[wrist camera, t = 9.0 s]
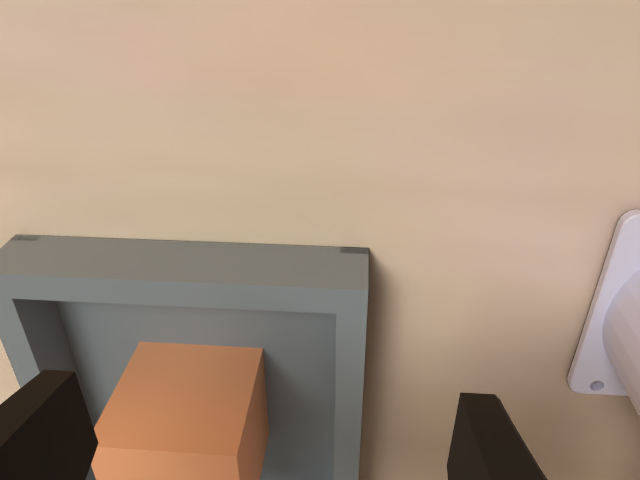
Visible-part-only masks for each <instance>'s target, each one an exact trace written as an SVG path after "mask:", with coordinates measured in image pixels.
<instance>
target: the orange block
mask: <svg viewBox="0 0 640 480" xmlns="http://www.w3.org/2000/svg"><path fill="white" fill-rule="evenodd" d="M94 430H95V434H96V437H97V440H98V446H97V449H96V452H95V455H94V457H93V460H92V463H91V467H92V470H93V472H94V475H95V478H96V480H260V478H261V472H262V467H263V462H264V457H265V452H266V446H267V441H268V436H269V424H268V410H267V397H266V383H265V370H264V357H263V348H252V347H233V346H215V345H196V344H177V343H159V342H139V344H138V346H137V348H136V350H135V352H134V353H133V355H132V357H131V359H130V361H129V363H128V365H127V367H126V369H125V370H124V372H123V374H122V376H121V378H120V380H119V382H118V384H117V386H116V387H115V389H114V391H113V393H112V395H111V397H110V399H109V401H108V403H107V404H106V406H105V408H104V410H103V412H102V414H101V416H100V418H99V420H98V421H97V423H96V425H95V427H94Z"/></svg>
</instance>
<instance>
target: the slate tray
mask: <svg viewBox="0 0 640 480" xmlns="http://www.w3.org/2000/svg"><path fill="white" fill-rule="evenodd" d="M368 275H369V248H356V247H330V246H304V245H277V244H251V243H225V242H198V241H172V240H146V239H119V238H93V237H66V236H40V235H15V236H14V237H13V238H12V239H10V240H9V241H8V242H7V243H6V244H5V245H4V246H3V247H2V248H1V249H0V338H1V341H2V343H3V346H4V348H5V351H6V353H7V356H8V358H9V360H10V363H11V365H12V368H13V370H14V373H15V375H16V378H17V380H18V382H19V385H20V387H21V388H22V387H23V386H24V385H25V384H26V383H28V382H29V381H30V380H32V379H33V378H34V377H35V376H37V375H38V374H39V373H41V372H42V371H43V370H61V371H75V373H76V376H77V379H78V382H79V385H80V388H81V391H82V394H83V397H84V400H85V403H86V406H87V409H88V412H89V415H90V418H91V421H92V424H93V427H95V425H96V423H97V421H98V420H99V418H100V416H101V414H102V412H103V410H104V408H105V406H106V404H107V403H108V401H109V399H110V397H111V395H112V393H113V391H114V389H115V387H116V386H117V384H118V382H119V380H120V378H121V376H122V374H123V372H124V370H125V369H126V367H127V365H128V363H129V361H130V359H131V357H132V355H133V353H134V352H135V350H136V348H137V346H138V344H139V342H159V343H177V344H196V345H215V346H233V347H252V348H263V357H264V370H265V383H266V397H267V410H268V424H269V436H268V441H267V446H266V452H265V457H264V462H263V467H262V472H261V478H260V480H359V461H360V442H361V423H362V404H363V385H364V366H365V347H366V327H367V308H368ZM86 480H96V478H95V475H94V472H93V470H92V467H91V466H90V469H89V472H88V475H87V477H86Z"/></svg>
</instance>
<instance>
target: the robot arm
mask: <svg viewBox="0 0 640 480" xmlns="http://www.w3.org/2000/svg"><path fill="white" fill-rule="evenodd" d="M595 381H598V382H596V383H593V382H595ZM567 382H568V384H569V387H570V388H571V390H572V391H574V392H576V393H582V394H600V395H618V396H629V398H630V400H631V402H632V404H633V406H634V408H635V410H636V412H637V413H638V415H639V417H640V209H637V210H631V211H629V212H626V213H625V214H624V215H622V216H621V217H620V219H619V221H618V223H617V226H616V229H615V232H614V235H613V238H612V241H611V244H610V247H609V251H608V254H607V257H606V260H605V263H604V266H603V269H602V272H601V275H600V278H599V282H598V285H597V288H596V291H595V294H594V297H593V300H592V303H591V306H590V309H589V313H588V316H587V319H586V322H585V325H584V328H583V331H582V334H581V337H580V340H579V344H578V347H577V350H576V353H575V356H574V359H573V362H572V365H571V368H570V371H569V375H568V378H567ZM97 446H98V440H97V437H96V434H95V430H94V427H93V424H92V421H91V418H90V415H89V412H88V409H87V406H86V403H85V400H84V397H83V394H82V391H81V388H80V385H79V382H78V379H77V376H76V373H75V371H61V370H43V371H42V372H41V373H39V374H38V375H37V376H35V377H34V378H33V379H32V380H30V381H29V382H28V383H26V384H25V385H24V386H23V387H22V388H20V389H19V390H18V391H17V392H15V393H14V394H13V395H12V396H10V397H9V398H8V399H7V400H6V401H4V402H3V403H2V404H1V405H0V480H86V477H87V475H88V472H89V469H90V466H91V463H92V460H93V457H94V455H95V452H96V449H97ZM447 471H448V480H547V478H546V477H545V475H544V474H543V472H542V471H541V469H540V467H539V466H538V464H537V463H536V461H535V459H534V458H533V456H532V454H531V453H530V451H529V450H528V448H527V446H526V445H525V443H524V441H523V440H522V438H521V436H520V435H519V433H518V431H517V429H516V428H515V426H514V424H513V422H512V421H511V419H510V417H509V415H508V414H507V412H506V410H505V408H504V406H503V404H502V403H501V401H500V399H499V398H498V397H497V396H496V395H494V394H476V393H460V398H459V403H458V408H457V414H456V419H455V425H454V430H453V436H452V441H451V446H450V452H449V457H448V463H447Z"/></svg>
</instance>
